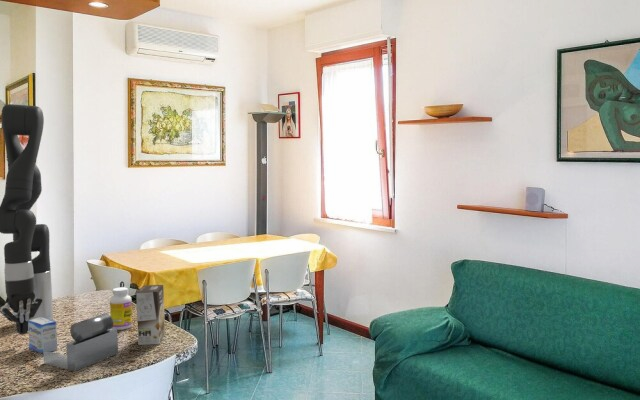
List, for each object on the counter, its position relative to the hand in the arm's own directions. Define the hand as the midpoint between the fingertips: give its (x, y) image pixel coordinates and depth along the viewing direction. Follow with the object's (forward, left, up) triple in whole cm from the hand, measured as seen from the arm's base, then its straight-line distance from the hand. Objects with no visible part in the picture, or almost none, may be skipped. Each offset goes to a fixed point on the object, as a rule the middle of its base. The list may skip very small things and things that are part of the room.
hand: (22, 333), depth 166 cm
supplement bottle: (+14, +25, -4) cm, 29 cm away
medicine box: (+9, 0, -4) cm, 9 cm away
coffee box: (+32, +20, -4) cm, 38 cm away
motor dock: (+26, 0, -4) cm, 26 cm away
